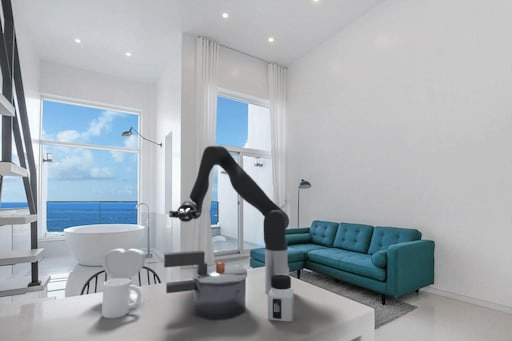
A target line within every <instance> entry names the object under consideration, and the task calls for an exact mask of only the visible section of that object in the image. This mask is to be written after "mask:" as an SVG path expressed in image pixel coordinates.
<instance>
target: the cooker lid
mask: <svg viewBox="0 0 512 341" xmlns="http://www.w3.org/2000/svg"><path fill="white" fill-rule="evenodd" d="M205 253H206V252H205V251H204V250H195V251H194V250H191V251H176V252H164V255H163V268H174V267H185V266H186V267H187V266H188V267H189V266H196V269H195V270H194V271H193V272H192V280H195V281H197V282H200V283H204V284H230V283H236V282H240V281H242V280H244V279H246V280H247V278H248V270H247V269H246V268H244V267H242V266H238V265H227V264H226V263H225V262H224V261H217V262H216V263H215V265H208V263H207V262H206V261H205V259H206V258H205V256H206V254H205Z"/></svg>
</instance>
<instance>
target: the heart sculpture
mask: <svg viewBox="0 0 512 341" xmlns="http://www.w3.org/2000/svg"><path fill="white" fill-rule="evenodd" d="M145 253H146V252H144V251H143V250H141V249H137V248H129V249H127V250H126V249H124V248H122V247H121V248H115V249H112V250H108V251H106V252H105V253H104V254H102V258H101V262H102V268H103V271H105V274H107V276H108V277H110V278H111V280H112V279H120V278H125V279H130V280H131V278H134V276H136V275H137V274H138V273H140V272H141V270H142V269H143V267H144V266H145V262H146V254H145ZM133 299H135V300H136V299H137V293H130V300H133Z"/></svg>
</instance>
